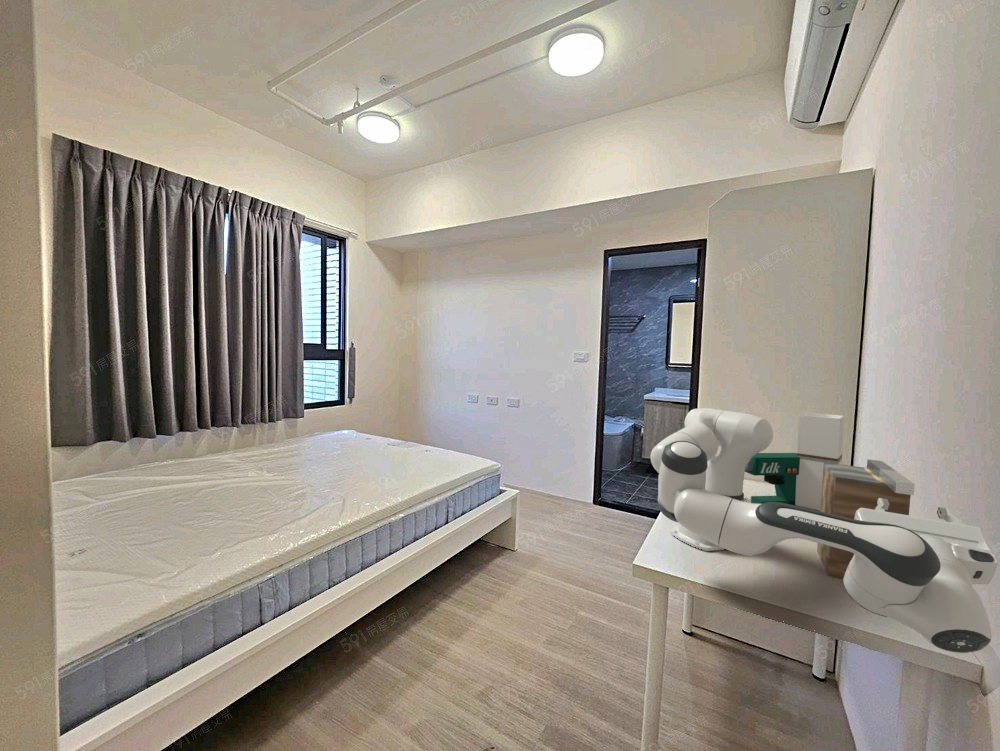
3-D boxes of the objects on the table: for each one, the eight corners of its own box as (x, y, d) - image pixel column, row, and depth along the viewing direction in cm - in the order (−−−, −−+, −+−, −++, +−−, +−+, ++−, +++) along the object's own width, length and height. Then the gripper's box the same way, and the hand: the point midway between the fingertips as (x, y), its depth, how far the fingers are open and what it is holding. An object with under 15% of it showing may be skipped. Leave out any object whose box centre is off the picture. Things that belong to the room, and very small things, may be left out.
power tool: (727, 513, 145) (730, 458, 144) (714, 506, 152) (717, 453, 151) (808, 511, 149) (812, 457, 147) (792, 504, 156) (796, 452, 154)
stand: (901, 593, 98) (911, 486, 96) (827, 576, 105) (835, 475, 103) (881, 564, 112) (889, 469, 110) (817, 550, 119) (823, 461, 117)
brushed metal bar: (913, 495, 90) (914, 484, 90) (895, 492, 91) (896, 481, 91) (881, 470, 110) (882, 461, 110) (866, 468, 111) (867, 459, 111)
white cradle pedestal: (839, 511, 148) (843, 415, 147) (835, 519, 141) (839, 418, 139) (801, 503, 156) (804, 412, 155) (794, 510, 149) (798, 415, 147)
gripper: (856, 555, 85) (846, 504, 94) (1003, 586, 74) (974, 525, 84) (863, 535, 81) (851, 485, 91) (1016, 565, 71) (985, 504, 81)
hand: (911, 504), depth 88 cm, fingers open, 8 cm apart
